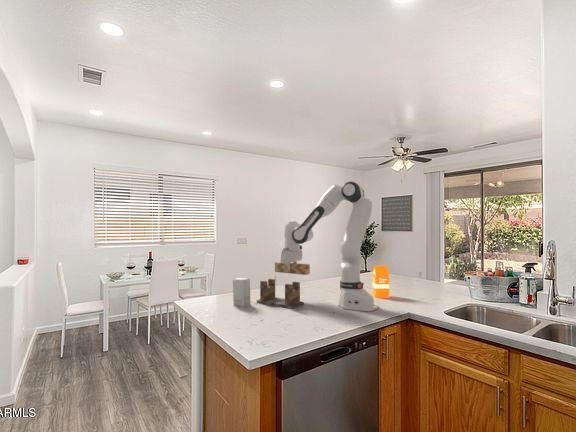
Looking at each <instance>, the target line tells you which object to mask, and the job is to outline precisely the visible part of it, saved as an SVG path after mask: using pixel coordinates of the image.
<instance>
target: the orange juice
mask: <svg viewBox="0 0 576 432" xmlns="http://www.w3.org/2000/svg"><path fill="white" fill-rule="evenodd" d="M372 297H373V298H376V299H383V298H384V299H389V298H390V274H389V269H388V265H373V270H372Z"/></svg>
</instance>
